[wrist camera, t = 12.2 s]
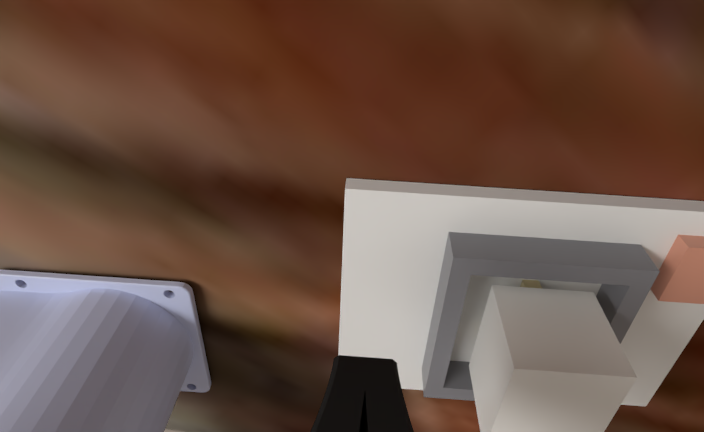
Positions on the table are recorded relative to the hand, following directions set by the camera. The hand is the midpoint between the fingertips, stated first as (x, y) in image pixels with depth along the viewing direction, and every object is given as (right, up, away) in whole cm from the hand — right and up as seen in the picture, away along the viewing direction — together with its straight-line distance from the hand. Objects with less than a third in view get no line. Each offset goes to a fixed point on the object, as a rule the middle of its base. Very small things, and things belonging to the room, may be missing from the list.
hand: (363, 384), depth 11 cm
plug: (+7, 0, +10) cm, 13 cm away
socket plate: (+7, 0, +11) cm, 13 cm away
